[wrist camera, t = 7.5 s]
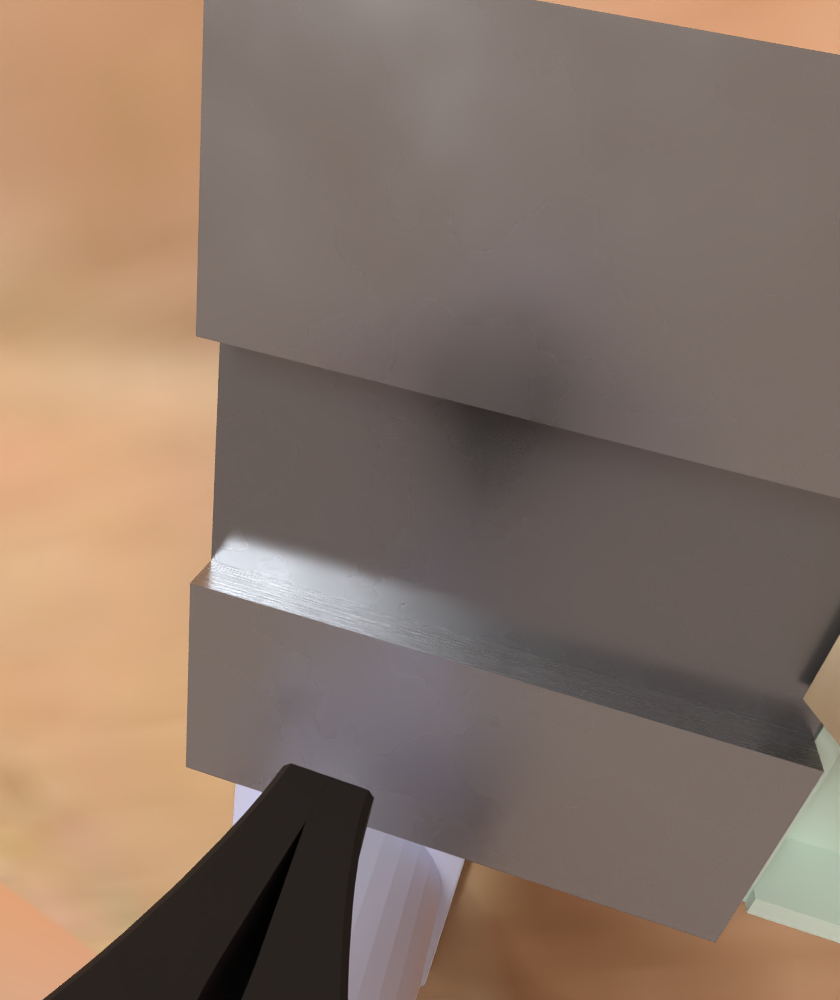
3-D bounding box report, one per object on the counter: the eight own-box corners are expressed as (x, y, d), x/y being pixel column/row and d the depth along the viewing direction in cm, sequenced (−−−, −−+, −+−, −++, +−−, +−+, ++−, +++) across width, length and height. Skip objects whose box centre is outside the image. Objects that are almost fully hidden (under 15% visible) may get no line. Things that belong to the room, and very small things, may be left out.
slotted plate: (700, 809, 22) (715, 942, 18) (250, 670, 23) (186, 767, 20) (1069, 123, 13) (1234, 126, 9) (304, -18, 15) (205, -60, 11)
